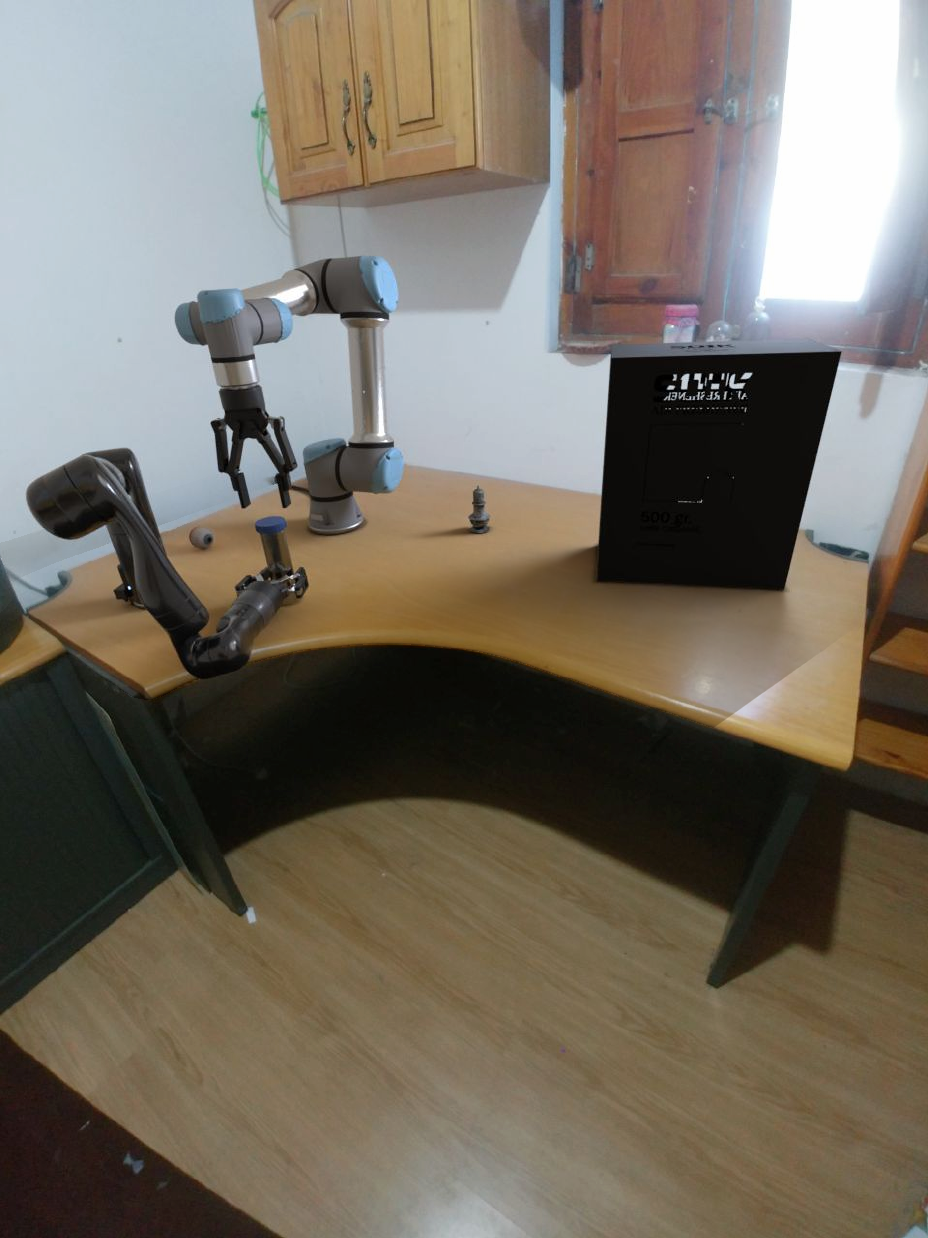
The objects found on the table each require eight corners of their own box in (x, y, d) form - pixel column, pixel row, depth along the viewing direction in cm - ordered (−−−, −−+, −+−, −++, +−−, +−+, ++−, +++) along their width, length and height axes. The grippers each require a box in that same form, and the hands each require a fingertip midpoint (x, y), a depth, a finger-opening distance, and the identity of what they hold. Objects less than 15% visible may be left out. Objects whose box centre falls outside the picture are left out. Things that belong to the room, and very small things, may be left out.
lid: (249, 531, 122) (248, 523, 122) (273, 521, 127) (271, 514, 126) (269, 536, 119) (268, 528, 119) (293, 526, 124) (291, 518, 123)
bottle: (271, 602, 131) (252, 525, 122) (288, 592, 134) (271, 517, 125) (286, 607, 128) (268, 529, 119) (304, 597, 132) (288, 521, 123)
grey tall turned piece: (488, 533, 158) (487, 489, 152) (466, 533, 159) (464, 488, 153) (492, 525, 163) (491, 481, 157) (471, 524, 164) (469, 481, 158)
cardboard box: (763, 549, 141) (808, 338, 118) (784, 589, 124) (841, 351, 101) (598, 544, 148) (611, 344, 126) (596, 581, 131) (611, 357, 109)
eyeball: (203, 554, 156) (196, 532, 153) (187, 550, 159) (181, 528, 156) (222, 546, 160) (216, 524, 157) (206, 542, 163) (200, 521, 160)
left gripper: (287, 590, 113) (314, 554, 128) (214, 590, 115) (250, 554, 129) (294, 625, 117) (320, 586, 131) (224, 624, 119) (258, 586, 133)
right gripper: (301, 380, 111) (322, 499, 122) (196, 384, 114) (226, 500, 125) (286, 387, 105) (309, 512, 116) (175, 391, 107) (209, 512, 119)
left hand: (285, 570), depth 130 cm, fingers open, 7 cm apart
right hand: (266, 505), depth 121 cm, fingers open, 8 cm apart
